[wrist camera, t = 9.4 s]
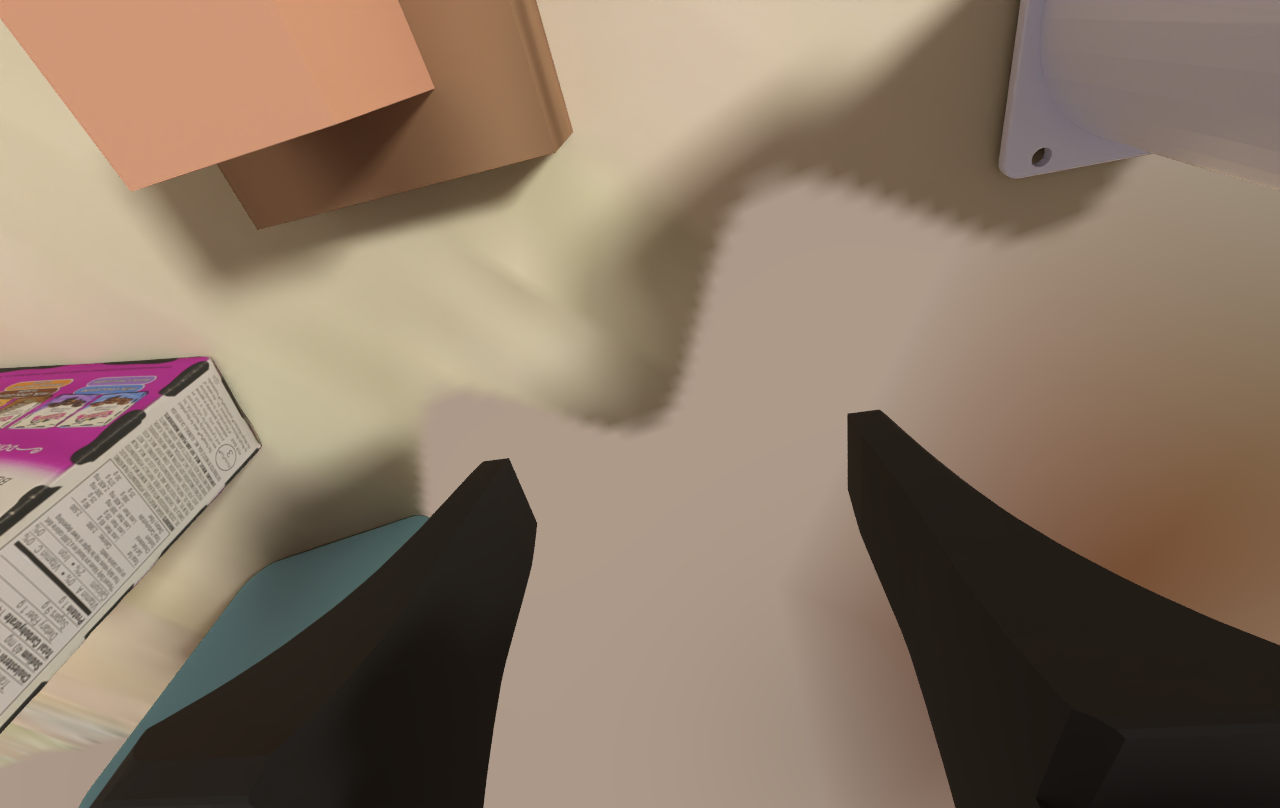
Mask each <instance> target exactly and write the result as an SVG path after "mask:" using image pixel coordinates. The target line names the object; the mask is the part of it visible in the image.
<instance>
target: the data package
mask: <svg viewBox="0 0 1280 808" xmlns="http://www.w3.org/2000/svg"><path fill="white" fill-rule="evenodd" d="M428 519H429V517H427V516H423V515H417V516H412V517H409V518H406V519H403V520H400V521H397V522H394V523H391V524H388V525H385V526H382V527H379V528H376V529H373V530H370V531H367V532H364V533H361V534H358V535H355V536H352V537H349V538H346V539H343V540H340V541H337V542H334V543H331V544H328V545H325V546H322V547H319V548H316V549H313V550H310V551H307V552H304V553H301V554H297V555H294V556H291V557H288V558H285V559H282V560H279V561H277V562H274V563H272V564H270V565H268V566H267V567H265V568H264V569H262V570H261V571H259V572H258V573H257V574H256V575H254V576H253V577H252V578H251V579H250V580H249V581H248V582H247V583H246V584H245V585H244V586H243V587H242V588H241V589H240V591H239V592H238V593H237V594H236V596H235V597H234V598H233V600H232V601H231V602H230V604H229V605H228V606H227V608H226V609H225V610H224V612H223V613H222V614H221V616H220V617H219V618H218V620H217V621H216V622H215V624H214V625H213V626H212V628H211V629H210V630H209V632H208V633H207V634H206V635H205V637H204V638H203V639H202V641H201V642H200V643H199V645H198V646H197V647H196V649H195V650H194V651H193V653H192V654H191V655H190V657H189V658H188V659H187V661H186V662H185V663H184V665H183V666H182V667H181V669H180V670H179V671H178V673H177V674H176V675H175V677H174V678H173V679H172V681H171V682H170V683H169V685H168V686H167V687H166V689H165V690H164V691H163V693H162V694H161V695H160V697H159V698H158V699H157V701H156V702H155V703H154V704H153V706H152V707H151V708H150V710H149V711H148V712H147V714H146V715H145V716H144V718H143V719H142V720H141V722H140V723H139V724H138V726H137V727H136V728H135V730H134V731H133V732H132V734H131V735H130V736H129V738H128V739H127V740H126V742H125V743H124V744H123V746H122V747H121V749H120V750H119V751H118V752H117V754H116V755H115V756H114V758H113V759H112V760H111V762H110V763H109V764H108V766H107V767H106V768H105V770H104V771H103V772H102V773H101V775H100V776H99V778H98V779H97V780H96V781H95V783H94V784H93V785H92V787H91V788H90V790H89V791H88V793H87V794H86V796H85V797H84V799H83V801H82V802H81V804H80V806H79V808H89V807H90V806H91V805H92V803H93V802H94V800H95V799H96V798H97V796H98V795H99V793H100V792H101V791H102V789H103V788H104V787H105V785H106V784H107V782H108V781H109V780H110V778H111V777H112V776H113V774H114V773H115V771H116V770H117V769H118V767H119V766H120V764H121V763H122V762H123V760H124V759H125V758H126V756H127V755H128V753H129V752H130V751H131V749H132V748H133V747H134V745H135V744H136V742H137V741H138V740H139V738H140V737H141V735H142V734H143V733H144V732H145V730H146V729H148V728H149V727H151V726H153V725H155V724H157V723H159V722H160V721H162V720H164V719H166V718H167V717H169V716H171V715H172V714H174V713H176V712H178V711H179V710H181V709H183V708H184V707H186V706H188V705H190V704H191V703H193V702H195V701H197V700H198V699H200V698H202V697H203V696H205V695H207V694H209V693H210V692H212V691H214V690H215V689H217V688H219V687H220V686H222V685H223V684H225V683H227V682H228V681H230V680H231V679H233V678H235V677H236V676H238V675H239V674H241V673H242V672H244V671H245V670H247V669H248V668H250V667H252V666H253V665H255V664H256V663H258V662H259V661H261V660H262V659H264V658H265V657H267V656H268V655H270V654H271V653H272V652H274V651H275V650H277V649H278V648H280V647H281V646H283V645H284V644H285V643H287V642H288V641H290V640H291V639H292V638H294V637H295V636H296V635H298V634H299V633H300V632H302V631H303V630H304V629H306V628H307V627H308V626H310V625H311V624H312V623H314V622H315V621H316V620H318V619H319V618H320V617H322V616H323V615H324V614H326V613H327V612H328V611H330V610H331V609H332V608H333V607H335V606H336V605H337V604H338V603H340V602H341V601H342V600H343V599H344V598H346V597H347V596H348V595H349V594H350V593H352V592H353V591H354V590H355V589H356V588H357V587H359V586H360V585H361V584H362V583H363V582H364V581H366V580H367V579H368V578H369V577H370V576H371V575H372V574H373V573H375V572H376V571H377V570H378V569H379V568H380V567H381V566H382V565H383V564H384V563H385V562H386V561H387V560H388V559H389V558H390V557H391V556H392V555H393V554H394V553H395V552H397V551H398V550H399V549H400V548H401V547H402V546H403V545H404V544H405V543H406V542H407V541H408V540H409V539H410V538H411V537H412V536H413V535H414V534H415V533H416V532H417V531H418V530H419V529H420V528H421V527H422V526H423V525H424V523H425V522H426V521H427V520H428Z"/></svg>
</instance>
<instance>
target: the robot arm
mask: <svg viewBox="0 0 1280 808" xmlns="http://www.w3.org/2000/svg"><path fill="white" fill-rule="evenodd" d="M1041 148H1044V151H1045V153H1044V155H1043V158H1042V159H1041V160H1040V161H1039V162H1037V163H1035V164H1032V157H1033V155H1034V154H1035V153H1036V152H1037V151H1038V150H1039V149H1041ZM1149 154H1157V155H1161V156H1164V157H1167V158H1171V159H1174V160H1178V161H1181V162H1185V163H1188V164H1191V165H1194V166H1198V167H1201V168H1204V169H1208V170H1211V171H1214V172H1218V173H1221V174H1224V175H1228V176H1231V177H1234V178H1238V179H1242V180H1245V181H1248V182H1251V183H1255V184H1258V185H1262V186H1265V187H1268V188H1271V189H1275V190H1278V191H1280V0H1021V1H1020V9H1019V16H1018V23H1017V31H1016V38H1015V45H1014V53H1013V60H1012V67H1011V75H1010V82H1009V89H1008V97H1007V104H1006V111H1005V119H1004V126H1003V133H1002V141H1001V148H1000V155H999V169H1000V171H1001V172H1002V174H1004V175H1006V176H1008V177H1010V178H1016V179H1019V178H1025V177H1030V176H1035V175H1041V174H1046V173H1052V172H1057V171H1062V170H1068V169H1073V168H1079V167H1084V166H1089V165H1095V164H1100V163H1106V162H1111V161H1116V160H1122V159H1127V158H1132V157H1138V156H1143V155H1149ZM848 491H849V495H850V499H851V502H852V506H853V510H854V513H855V517H856V520H857V524H858V527H859V530H860V533H861V536H862V539H863V541H864V543H865V546H866V548H867V550H868V553H869V555H870V558H871V560H872V563H873V565H874V567H875V570H876V572H877V574H878V577H879V579H880V582H881V584H882V586H883V589H884V591H885V593H886V596H887V598H888V600H889V603H890V605H891V608H892V610H893V612H894V615H895V617H896V619H897V622H898V624H899V627H900V629H901V631H902V634H903V637H904V639H905V642H906V644H907V647H908V650H909V653H910V655H911V659H912V662H913V665H914V668H915V671H916V675H917V678H918V681H919V684H920V688H921V690H922V694H923V697H924V700H925V704H926V707H927V710H928V714H929V717H930V721H931V724H932V727H933V731H934V734H935V737H936V741H937V744H938V748H939V751H940V754H941V758H942V761H943V764H944V768H945V772H946V775H947V779H948V783H949V786H950V790H951V793H952V797H953V800H954V804H955V807H956V808H1280V645H1277V644H1275V643H1272V642H1270V641H1267V640H1265V639H1262V638H1259V637H1257V636H1254V635H1252V634H1249V633H1247V632H1244V631H1241V630H1239V629H1237V628H1234V627H1232V626H1229V625H1227V624H1224V623H1222V622H1219V621H1217V620H1214V619H1212V618H1209V617H1207V616H1205V615H1203V614H1200V613H1198V612H1196V611H1194V610H1192V609H1189V608H1187V607H1185V606H1183V605H1181V604H1178V603H1176V602H1174V601H1172V600H1169V599H1167V598H1165V597H1163V596H1160V595H1158V594H1156V593H1154V592H1152V591H1150V590H1148V589H1145V588H1143V587H1141V586H1139V585H1137V584H1135V583H1133V582H1131V581H1129V580H1127V579H1125V578H1123V577H1121V576H1119V575H1117V574H1115V573H1113V572H1111V571H1109V570H1107V569H1105V568H1103V567H1102V566H1099V565H1098V564H1096V563H1094V562H1092V561H1090V560H1088V559H1086V558H1084V557H1082V556H1080V555H1079V554H1077V553H1075V552H1073V551H1071V550H1069V549H1068V548H1066V547H1064V546H1062V545H1061V544H1059V543H1057V542H1055V541H1054V540H1052V539H1050V538H1049V537H1047V536H1045V535H1044V534H1042V533H1040V532H1039V531H1037V530H1036V529H1034V528H1032V527H1030V526H1029V525H1027V524H1026V523H1024V522H1022V521H1021V520H1019V519H1017V518H1016V517H1014V516H1013V515H1011V514H1010V513H1008V512H1006V511H1005V510H1004V509H1002V508H1001V507H999V506H998V505H996V504H995V503H994V502H992V501H991V500H990V499H988V498H987V497H985V496H984V495H983V494H981V493H980V492H978V491H977V490H976V489H974V488H973V487H972V486H970V485H969V484H968V483H966V482H965V481H964V480H962V479H961V478H960V477H959V476H957V475H956V474H955V473H953V472H952V471H951V470H950V469H948V468H947V467H946V466H945V465H943V464H942V463H941V462H940V461H938V460H937V459H936V458H935V457H934V456H932V455H931V454H930V453H929V452H927V451H926V450H925V449H924V448H923V447H921V445H919V444H918V443H917V442H916V441H915V440H914V439H912V438H911V437H910V436H909V435H908V434H907V433H906V432H905V431H903V430H902V429H901V428H900V427H899V426H898V425H897V424H896V423H894V422H893V421H892V420H891V419H890V418H889V417H888V416H887V415H886V414H884V413H883V412H882V411H881V410H873V411H865V412H858V413H850V414H848ZM536 528H537V522H536V520H535V517H534V515H533V513H532V510H531V508H530V506H529V503H528V501H527V499H526V497H525V494H524V492H523V490H522V487H521V485H520V483H519V480H518V479H517V476H516V473H515V471H514V469H513V467H512V464H511V462H510V460H509V458H507V459H500V460H492V461H484V462H482V463H481V464H480V465H479V466H478V467H477V468H476V469H475V470H474V471H473V472H472V473H471V474H470V475H469V476H468V477H467V478H466V480H465V481H464V482H463V483H462V484H461V485H460V486H459V487H458V488H457V489H456V490H455V491H454V492H453V494H452V495H451V496H450V497H449V498H448V499H447V500H446V501H445V502H444V503H443V504H442V506H440V508H439V509H438V510H437V511H436V512H435V513H434V514H433V515H432V516H431V517H430V518H429V519H428V520H427V521H426V522H425V523H424V525H423V526H422V527H421V528H420V529H419V530H418V531H417V532H416V533H415V534H414V535H413V536H412V537H411V538H410V539H409V540H408V541H407V542H406V543H405V544H404V545H403V546H402V547H401V548H400V549H399V550H398V551H397V552H395V553H394V554H393V555H392V556H391V557H390V558H389V559H388V560H387V561H386V562H385V563H384V564H383V565H382V566H381V567H380V568H379V569H378V570H377V571H376V572H375V573H373V574H372V575H371V576H370V577H369V578H368V579H367V580H366V581H364V582H363V583H362V584H361V585H360V586H359V587H357V588H356V589H355V590H354V591H353V592H352V593H350V594H349V595H348V596H347V597H346V598H344V599H343V600H342V601H341V602H340V603H338V604H337V605H336V606H335V607H333V608H332V609H331V610H330V611H328V612H327V613H326V614H324V615H323V616H322V617H320V618H319V619H318V620H316V621H315V622H314V623H312V624H311V625H310V626H308V627H307V628H306V629H304V630H303V631H302V632H300V633H299V634H298V635H296V636H295V637H294V638H292V639H291V640H290V641H288V642H287V643H285V644H284V645H283V646H281V647H280V648H278V649H277V650H275V651H274V652H272V653H271V654H270V655H268V656H267V657H265V658H264V659H262V660H261V661H259V662H258V663H256V664H255V665H253V666H252V667H250V668H248V669H247V670H245V671H244V672H242V673H241V674H239V675H238V676H236V677H235V678H233V679H231V680H230V681H228V682H227V683H225V684H223V685H222V686H220V687H219V688H217V689H215V690H214V691H212V692H210V693H209V694H207V695H205V696H203V697H202V698H200V699H198V700H197V701H195V702H193V703H191V704H190V705H188V706H186V707H184V708H183V709H181V710H179V711H178V712H176V713H174V714H172V715H171V716H169V717H167V718H166V719H164V720H162V721H160V722H159V723H157V724H155V725H153V726H151V727H149V728H148V729H146V730H145V732H144V733H143V734H142V735H141V737H140V738H139V740H138V741H137V742H136V744H135V745H134V747H133V748H132V749H131V751H130V752H129V753H128V755H127V756H126V758H125V759H124V760H123V762H122V763H121V764H120V766H119V767H118V769H117V770H116V771H115V773H114V774H113V776H112V777H111V778H110V780H109V781H108V782H107V784H106V785H105V787H104V788H103V789H102V791H101V792H100V793H99V795H98V796H97V798H96V799H95V800H94V802H93V803H92V805H91V806H90V807H89V808H483V805H484V796H485V787H486V779H487V771H488V763H489V757H490V750H491V743H492V736H493V728H494V722H495V716H496V710H497V704H498V698H499V692H500V686H501V681H502V676H503V672H504V668H505V663H506V659H507V656H508V652H509V648H510V645H511V641H512V637H513V633H514V630H515V626H516V622H517V619H518V615H519V612H520V608H521V605H522V601H523V597H524V593H525V589H526V586H527V582H528V578H529V574H530V570H531V566H532V560H533V553H534V546H535V537H536Z"/></svg>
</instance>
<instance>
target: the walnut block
mask: <svg viewBox="0 0 1280 808" xmlns="http://www.w3.org/2000/svg"><path fill="white" fill-rule="evenodd" d="M398 1H399V4H400V6H401V8H402V11H403V13H404V16H405V18H406V20H407V23H408V25H409V27H410V30H411V32H412V35H413V37H414V39H415V42H416V44H417V47H418V49H419V51H420V54H421V56H422V59H423V61H424V63H425V66H426V68H427V71H428V73H429V75H430V78H431V80H432V83H433V85H434V88H435V89H432V90H429V91H426V92H424V93H421V94H418V95H415V96H413V97H410V98H407V99H404V100H402V101H399V102H396V103H393V104H391V105H388V106H385V107H382V108H380V109H377V110H374V111H371V112H369V113H366V114H363V115H360V116H358V117H355V118H352V119H349V120H347V121H344V122H341V123H338V124H335V125H332V126H329V127H326V128H323V129H320V130H317V131H314V132H311V133H308V134H305V135H302V136H299V137H296V138H293V139H290V140H287V141H284V142H280V143H277V144H274V145H271V146H268V147H265V148H262V149H259V150H256V151H253V152H250V153H247V154H244V155H241V156H238V157H235V158H232V159H229V160H226V161H223V162H219V163H217V165H218V167H219V168H220V170H221V172H222V173H223V175H224V176H225V178H226V180H227V181H228V183H229V184H230V186H231V188H232V189H233V191H234V193H235V194H236V196H237V197H238V199H239V201H240V202H241V204H242V206H243V207H244V209H245V210H246V212H247V214H248V215H249V217H250V218H251V220H252V222H253V223H254V225H255V227H256V228H257V230H259V229H263V228H266V227H270V226H274V225H278V224H282V223H286V222H290V221H293V220H297V219H301V218H305V217H309V216H313V215H317V214H320V213H324V212H328V211H332V210H336V209H340V208H344V207H347V206H351V205H355V204H359V203H363V202H367V201H371V200H374V199H378V198H382V197H386V196H390V195H394V194H398V193H401V192H405V191H409V190H413V189H417V188H421V187H425V186H428V185H432V184H436V183H440V182H444V181H448V180H452V179H455V178H459V177H463V176H467V175H471V174H475V173H479V172H482V171H486V170H490V169H494V168H498V167H502V166H506V165H509V164H513V163H517V162H521V161H525V160H529V159H533V158H536V157H540V156H544V155H548V154H552V153H555V152H556V151H557V150H558V149H559V148H560V146H561V145H562V144H563V143H564V142H565V141H566V140H567V138H568V137H569V136H570V135H571V134H572V133H573V130H572V126H571V123H570V119H569V116H568V112H567V109H566V105H565V101H564V98H563V94H562V91H561V87H560V84H559V80H558V77H557V73H556V70H555V66H554V63H553V59H552V55H551V52H550V48H549V45H548V41H547V38H546V34H545V31H544V27H543V24H542V20H541V17H540V13H539V9H538V6H537V2H536V0H398Z"/></svg>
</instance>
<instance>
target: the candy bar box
mask: <svg viewBox="0 0 1280 808" xmlns="http://www.w3.org/2000/svg"><path fill="white" fill-rule="evenodd" d="M260 448H261V443H260V441H259V438H258V436H257V434H256V432H255V430H254V428H253V426H252V425H251V423H250V421H249V420H248V418H247V417H246V416H245V414H244V413H243V411H242V409H241V408H240V406H239V405H238V403H237V401H236V400H235V398H234V397H233V395H232V393H231V391H230V389H229V387H228V386H227V384H226V382H225V380H224V378H223V376H222V375H221V373H220V372H219V370H218V369H217V367H216V365H215V363H214V362H213V360H212V359H211V358H210V357H188V358H171V359H156V360H142V361H126V362H110V363H95V364H77V365H56V366H38V367H19V368H1V369H0V734H1V732H2V731H3V730H4V729H5V728H6V727H7V726H8V725H9V724H10V723H11V722H12V720H13V719H14V718H15V717H16V716H17V715H18V714H19V713H20V712H21V711H22V709H23V708H24V707H25V706H26V705H27V704H28V703H29V702H30V701H31V699H32V698H33V697H34V696H36V695H37V694H38V693H39V692H40V690H41V689H42V688H43V687H44V686H45V685H46V684H47V683H48V681H49V680H50V679H51V678H52V677H53V675H54V674H55V673H56V672H57V671H58V670H59V668H60V667H61V666H62V665H63V664H64V663H65V662H66V661H67V660H68V659H69V658H70V657H71V656H72V655H73V653H74V652H75V651H76V650H77V649H78V648H79V647H80V646H81V645H82V644H83V642H84V641H85V640H86V638H87V637H88V636H89V635H90V633H91V632H92V631H93V630H94V629H95V628H96V627H97V626H98V625H99V624H100V623H101V622H102V621H103V620H104V618H105V617H106V616H107V615H108V614H109V613H110V612H111V611H112V610H113V609H114V608H115V607H116V606H117V605H118V604H119V602H120V601H121V600H122V599H123V597H124V596H125V595H126V594H127V593H128V592H129V591H130V590H132V589H133V588H134V587H135V586H136V585H137V584H138V582H139V581H140V580H141V579H142V578H143V577H144V576H145V575H146V574H147V572H148V571H149V570H150V569H151V568H152V567H153V566H154V565H155V563H156V562H157V560H158V559H159V558H160V557H161V556H162V555H163V554H164V553H165V552H166V551H167V550H168V549H169V547H170V546H171V545H172V544H173V543H174V542H175V541H176V540H177V539H178V538H179V537H180V536H181V535H182V534H183V533H184V531H185V530H186V529H187V528H188V527H189V526H190V525H191V523H192V522H194V521H195V520H196V518H197V517H198V516H199V515H200V514H201V513H202V512H203V511H204V510H205V508H206V507H207V506H208V505H209V504H210V503H211V502H212V501H213V500H214V499H215V498H216V497H217V495H218V494H220V493H221V491H222V490H223V489H224V488H225V486H226V485H227V484H228V483H229V482H230V481H231V480H232V479H233V478H234V477H235V476H236V475H237V474H238V472H239V471H240V470H241V469H242V468H243V467H244V466H245V465H246V464H247V463H248V461H249V460H250V459H251V458H252V457H253V456H254V455H255V454H256V453H257V452H258V451H259V449H260Z"/></svg>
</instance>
